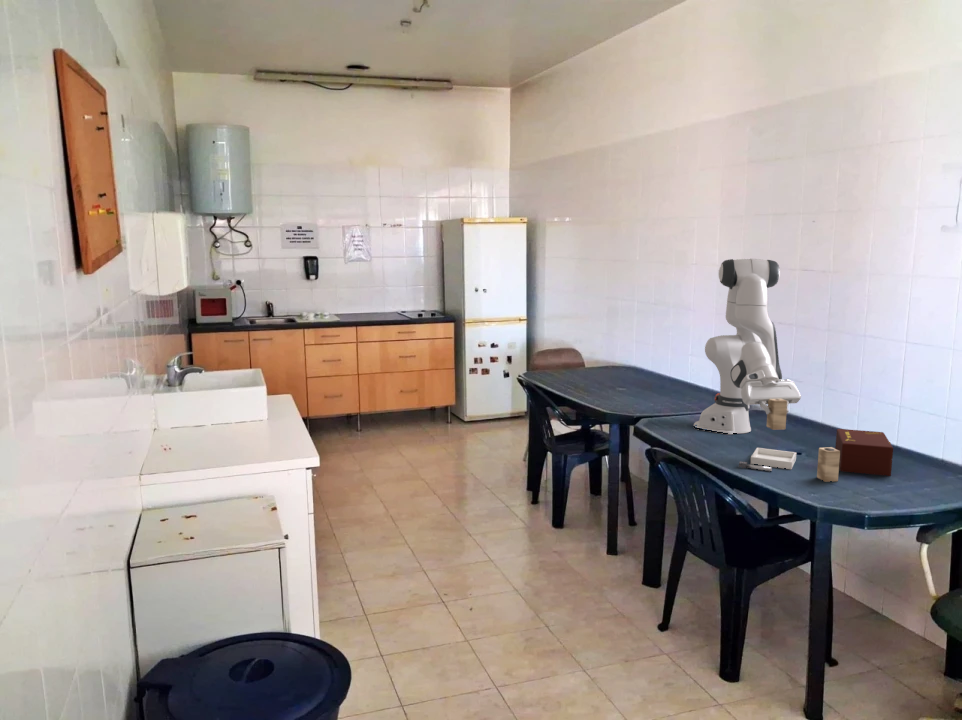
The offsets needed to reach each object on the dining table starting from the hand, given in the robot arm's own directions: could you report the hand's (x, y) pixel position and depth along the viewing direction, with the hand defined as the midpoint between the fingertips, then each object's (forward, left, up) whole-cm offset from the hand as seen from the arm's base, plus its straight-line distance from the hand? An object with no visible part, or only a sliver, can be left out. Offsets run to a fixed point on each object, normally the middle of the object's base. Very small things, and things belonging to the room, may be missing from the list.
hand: (777, 413), depth 252 cm
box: (+27, +12, -18) cm, 35 cm away
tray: (0, +1, -18) cm, 18 cm away
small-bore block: (0, +1, -5) cm, 5 cm away
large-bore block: (+17, -11, -18) cm, 27 cm away
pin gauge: (-5, -11, -18) cm, 21 cm away
